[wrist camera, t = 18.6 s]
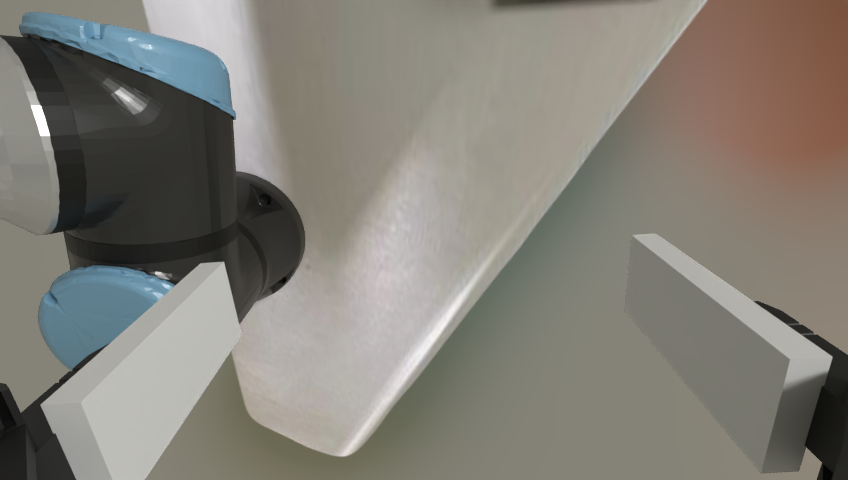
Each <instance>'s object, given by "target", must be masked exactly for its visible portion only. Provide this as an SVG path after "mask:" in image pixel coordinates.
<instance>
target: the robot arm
mask: <svg viewBox="0 0 848 480" xmlns="http://www.w3.org/2000/svg"><path fill="white" fill-rule="evenodd" d="M19 29H20V33H21V35H22V36H23V37H15V36H3V35H0V219H4V220H6V221H8V222H10V223H12V224H14V225H16V226H19V227H21V228H23V229H25V230H27V231H29V232H31V233H34V234H36V235H46V234H52V233H57V232H62V231H63V232H64V237H65V242H66V247H67V253H68V258H69V263H70V271H68V272H66V273H65V274H63V275H61V276H59V277H58V278H57V279H56V280H55V281H54V282H53V283H52V285H51V288H50V290H49V291H48V292H47V293H46V294H45V295H44V296H43V298H42V300H41V303H40V306H39V311H38V321H39V327H40V331H41V334H42V336H43V338H44V340H45V342H46V344H47V346H48V347H49V349H50V350H51V352H52V353H53V354H54V355H55V356H56V357H57V359H58V360H59V361H60V362H61V363H62V364H63V365H64V366H66V367H67V368H68V369H69V370H71V371H69V372H68V373H67V374H66V375H65V376H63V377H62V378H61V379H60V380H59V383H55V384H54V385H53V386H52V387H51V388H50V389H48V390H47V391H46V392H45V393H44V394H43V395H41V396H40V397H39V398H38V399H37V400H35V401H34V402H33V403H32V404H31V405H30V406H29V407H27V408H26V409H25V410H24V411H23V412H22V413H20V411H19V408H18V406H17V404H16V402H15V400H14V398H13V396H12V394H11V392H10V390H9V388H8V386H7V385H6V384H3V383H0V480H145V478H146V477H147V475H148V474H149V472H150V471H151V469H152V468H153V466H154V465H155V463H156V462H157V460H158V459H159V457H160V456H161V455H162V453H163V452H164V450H165V449H166V447H167V446H168V444H169V443H170V441H171V440H172V438H173V437H174V435H175V434H176V432H177V431H178V429H179V428H180V426H181V425H182V423H183V422H184V420H185V419H186V417H187V416H188V414H189V413H190V411H191V410H192V408H193V407H194V405H195V404H196V402H197V401H198V399H199V398H200V396H201V395H202V393H203V392H204V390H205V389H206V388H207V386H208V384H209V383H210V382H211V380H212V379H213V377H214V376H215V374H216V372H217V371H218V370H219V368H220V367H221V365H222V364H223V362H224V361H225V359H226V358H227V356H228V355H229V353H230V352H231V350H232V349H233V347H234V346H235V344H236V343H237V341H238V340H239V338H240V337H241V335H242V334H241V330H240V326H239V325H240V323H241V322H242V320H243V319H244V317H245V316H246V314H247V313H248V312H249V310H250V309H251V307H252V306H253V304H254V303H255V302H256V301H258V300H261V299H263V298H265V297H267V296H270V295H272V294H273V293H275V292H277V291H278V290H279V289H281V288H282V287H283V286H284V285H285V284H286V283H287V282H288V281H289V280H290V279H291V277H292V276H293V274H294V273H295V271H296V270H297V268H298V266H299V264H300V262H301V260H302V257H303V254H304V249H305V232H304V227H303V223H302V220H301V218H300V215H299V213H298V211H297V210H296V208H295V206H294V205H293V203H292V202H291V201H290V200H289V198H288V197H287V196H286V195H285V194H284V193H283V192H282V191H281V190H280V189H278V188H277V187H276V186H274V185H273V184H271V183H270V182H268V181H266V180H264V179H262V178H260V177H258V176H255V175H252V174H248V173H244V172H237V171H236V165H235V147H234V130H233V120H236V114H235V111H234V110H233V109H232V100H231V90H230V80H229V74H228V71H227V68H226V66H225V64H224V63H223V62H222V60H221V59H220V58H219V57H218V56H217V55H215V54H214V53H212V52H210V51H209V50H206V49H204V48H201V47H199V46H196V45H192V44H189V43H185V42H182V41H178V40H174V39H171V38H167V37H163V36H159V35H155V34H151V33H146V32H141V31H137V30H132V29H128V28H123V27H119V26H114V25H109V24H98V23H96V22H92V21H85V20H81V19H78V18H73V17H69V16H63V15H57V14H50V13H42V12H28V13H25V14H24V15H23V18H22V24H20V25H19ZM624 311H625V313H626V314H627V315H628V316H629V317H630V319H631V320H632V321H633V322H634V323H635V324H636V326H637V327H638V328H639V329H640V331H641V332H642V333H643V334H644V335H645V336H646V338H647V339H648V340H649V341H650V342H651V344H652V345H653V346H654V347H655V348H656V350H657V351H658V352H659V353H660V354H661V355H662V357H663V358H664V359H665V360H666V361H667V363H668V364H669V365H670V366H671V367H672V369H673V370H674V371H675V372H676V373H677V374H678V376H679V377H680V378H681V379H682V380H683V382H684V383H685V384H686V385H687V386H688V387H689V389H690V390H691V391H692V392H693V393H694V395H695V396H696V397H697V398H698V399H699V401H700V402H701V403H702V404H703V405H704V406H705V408H706V409H707V410H708V411H709V412H710V413H711V415H712V416H713V417H714V418H715V419H716V421H717V422H718V423H719V424H720V425H721V427H722V428H723V429H724V430H725V431H726V433H727V434H728V435H729V436H730V437H731V438H732V440H733V441H734V442H735V443H736V444H737V446H738V447H739V448H740V449H741V450H742V451H743V453H744V454H745V455H746V456H747V457H748V459H749V460H750V461H751V462H752V463H753V464H754V466H755V467H756V468H757V469H758V470H759V472H760V473H775V472H776V473H777V472H793V471H799V469H800V466H801V463H802V459H803V456H804V453H805V449H806V447H807V448H808V449H809V450H810V451H811V452H812V453H813V454H814V455H815V456H816V457H817V458H818V459H819V460H820V461H821V462H822V465H821V468H820V471H819V474H818V478H817V480H848V355H847V354H845V353H844V352H842V351H841V350H839V349H838V348H836V347H835V346H833V345H832V344H830V343H829V342H827V341H826V340H825V339H823V338H821V337H820V336H819V335H814V334H813V331H811V330H810V329H808V328H807V327H805V326H803V325H799V322H797V321H796V320H795V319H793V318H792V317H790V316H788V315H787V314H786V313H784V312H783V311H781V310H779V309H776V308H774V307H771V306H769V305H766V304H764V303H761V302H759V301H752V300H750V299H749V298H748V297H746V296H745V295H743V294H742V293H740V292H739V291H737V290H736V289H735V288H733V287H732V286H730V285H729V284H727V283H726V282H724V281H723V280H722V279H720V278H719V277H717V276H716V275H715V274H713V273H711V272H710V271H709V270H707V269H706V268H704V267H703V266H701V265H700V264H699V263H697V262H696V261H694V260H693V259H691V258H690V257H689V256H687V255H686V254H684V253H683V252H682V251H680V250H679V249H677V248H676V247H674V246H673V245H671V244H670V243H669V242H667V241H666V240H664V239H663V238H661V237H660V236H659V235H657V234H641V235H632V237H631V247H630V257H629V267H628V277H627V287H626V297H625V307H624Z"/></svg>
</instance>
